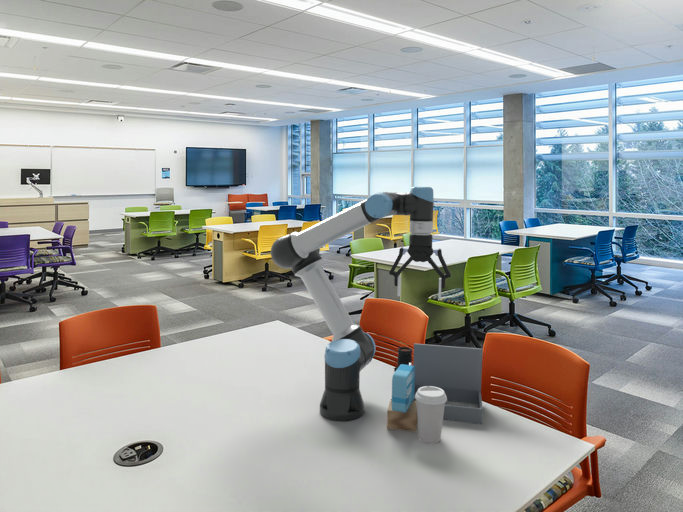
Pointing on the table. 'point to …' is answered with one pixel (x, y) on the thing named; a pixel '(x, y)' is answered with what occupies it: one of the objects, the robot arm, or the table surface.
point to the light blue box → (403, 388)
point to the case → (451, 378)
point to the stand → (402, 418)
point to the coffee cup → (430, 413)
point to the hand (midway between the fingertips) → (419, 296)
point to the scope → (404, 356)
